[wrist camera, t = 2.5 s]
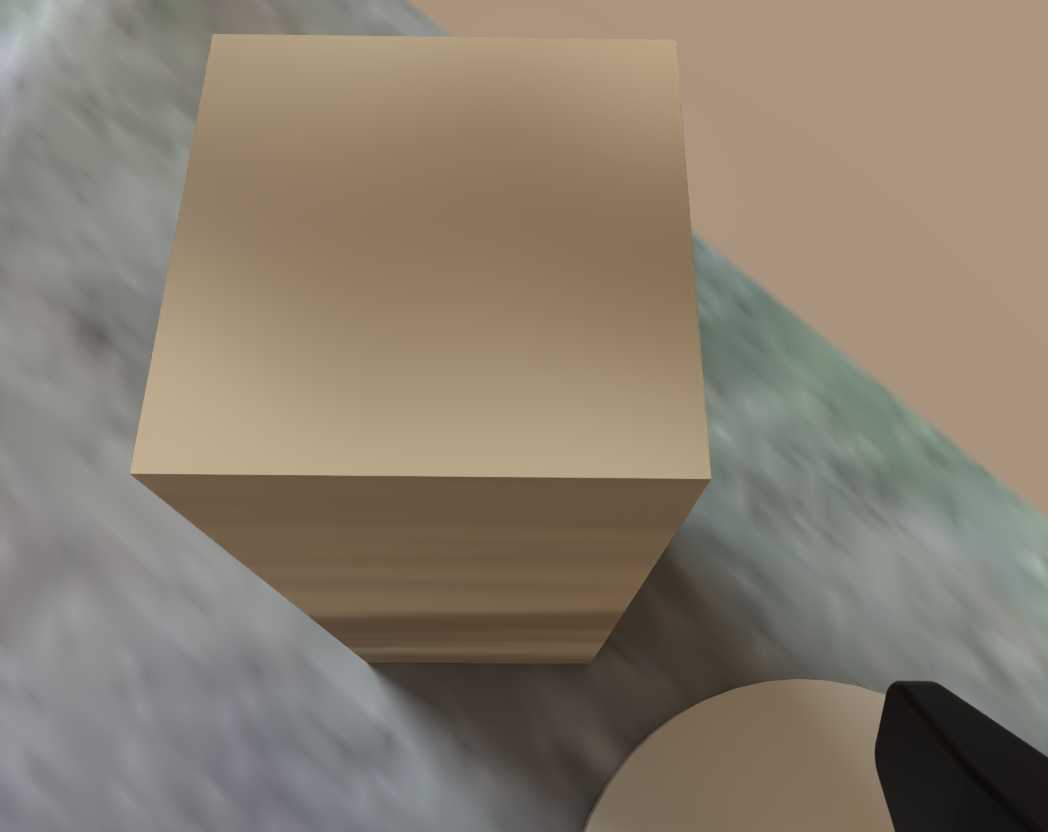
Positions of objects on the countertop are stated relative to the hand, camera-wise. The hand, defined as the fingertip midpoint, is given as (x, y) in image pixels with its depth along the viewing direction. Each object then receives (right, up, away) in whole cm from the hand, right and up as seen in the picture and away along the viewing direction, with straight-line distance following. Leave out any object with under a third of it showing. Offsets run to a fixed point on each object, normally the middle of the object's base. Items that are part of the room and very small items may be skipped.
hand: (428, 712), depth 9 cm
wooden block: (0, 0, +12) cm, 12 cm away
